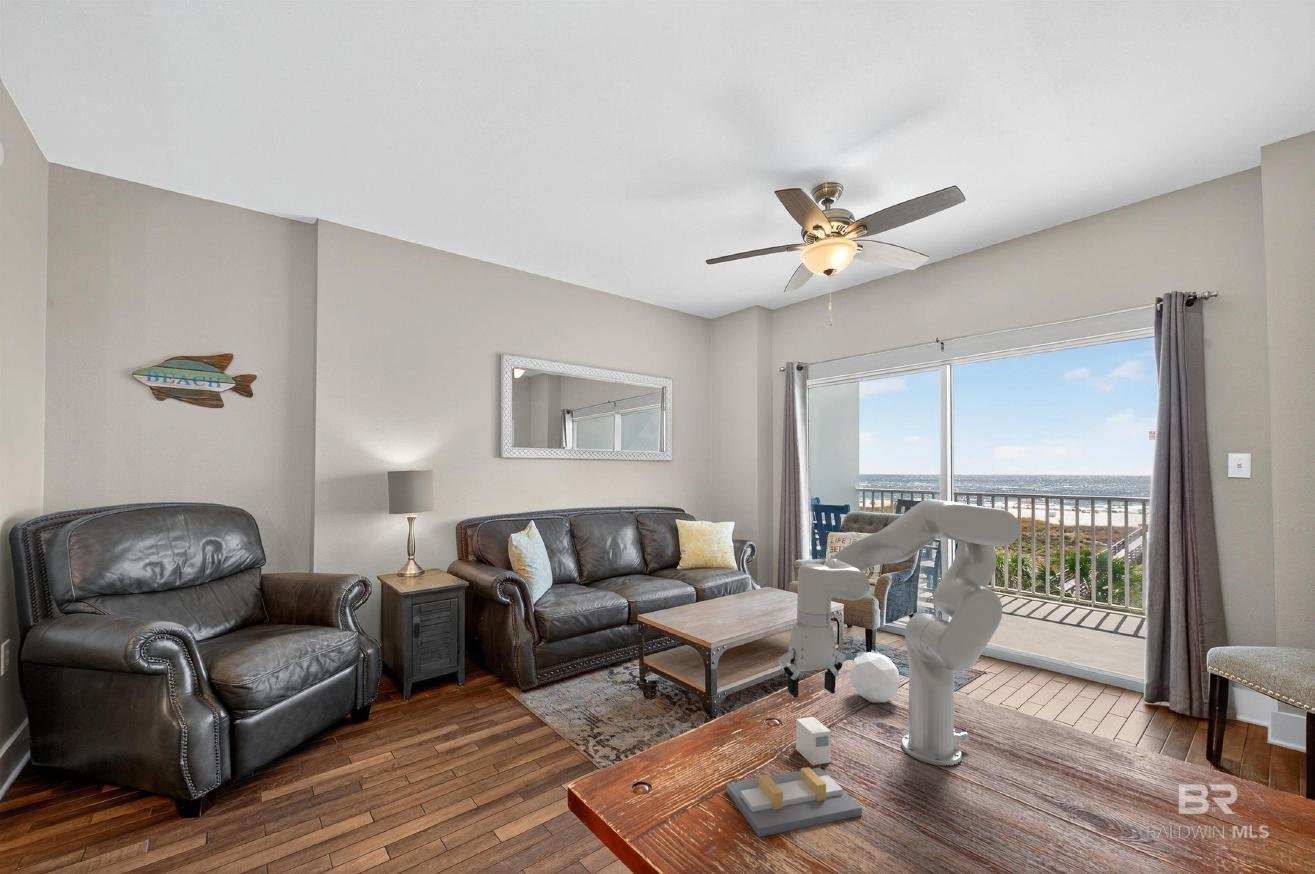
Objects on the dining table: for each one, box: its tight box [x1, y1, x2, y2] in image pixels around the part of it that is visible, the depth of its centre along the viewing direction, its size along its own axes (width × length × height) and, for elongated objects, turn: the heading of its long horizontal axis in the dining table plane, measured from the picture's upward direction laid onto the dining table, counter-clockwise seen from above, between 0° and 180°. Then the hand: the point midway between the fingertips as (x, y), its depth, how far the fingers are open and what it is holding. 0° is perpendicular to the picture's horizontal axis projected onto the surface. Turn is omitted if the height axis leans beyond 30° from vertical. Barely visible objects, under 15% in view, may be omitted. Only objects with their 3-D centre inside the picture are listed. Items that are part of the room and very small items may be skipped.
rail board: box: [725, 766, 863, 838], centre depth 108 cm, size 22×14×4 cm, turn 107°
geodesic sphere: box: [849, 649, 901, 703], centre depth 156 cm, size 14×14×14 cm
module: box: [795, 716, 832, 766], centre depth 126 cm, size 5×7×7 cm, turn 17°
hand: (811, 693), depth 126 cm, fingers open, 9 cm apart
